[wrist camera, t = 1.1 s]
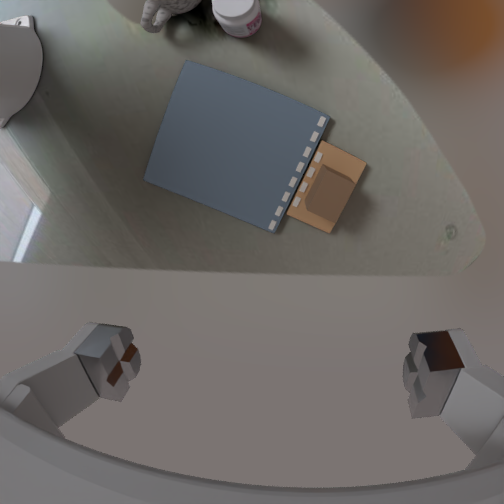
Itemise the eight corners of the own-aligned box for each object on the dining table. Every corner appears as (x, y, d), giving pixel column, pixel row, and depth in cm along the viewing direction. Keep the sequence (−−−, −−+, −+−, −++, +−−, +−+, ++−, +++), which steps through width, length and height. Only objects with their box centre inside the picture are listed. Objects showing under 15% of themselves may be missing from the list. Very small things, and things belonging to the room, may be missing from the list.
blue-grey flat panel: (145, 178, 40) (142, 180, 39) (188, 60, 33) (185, 59, 32) (274, 230, 42) (274, 234, 41) (329, 116, 35) (330, 116, 34)
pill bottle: (258, 40, 31) (253, 23, 24) (218, 36, 31) (202, 18, 24) (265, 6, 29) (262, -18, 22) (225, 2, 29) (212, -23, 22)
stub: (286, 211, 40) (287, 225, 36) (321, 139, 36) (327, 144, 32) (328, 230, 41) (334, 246, 37) (364, 161, 37) (375, 169, 32)
